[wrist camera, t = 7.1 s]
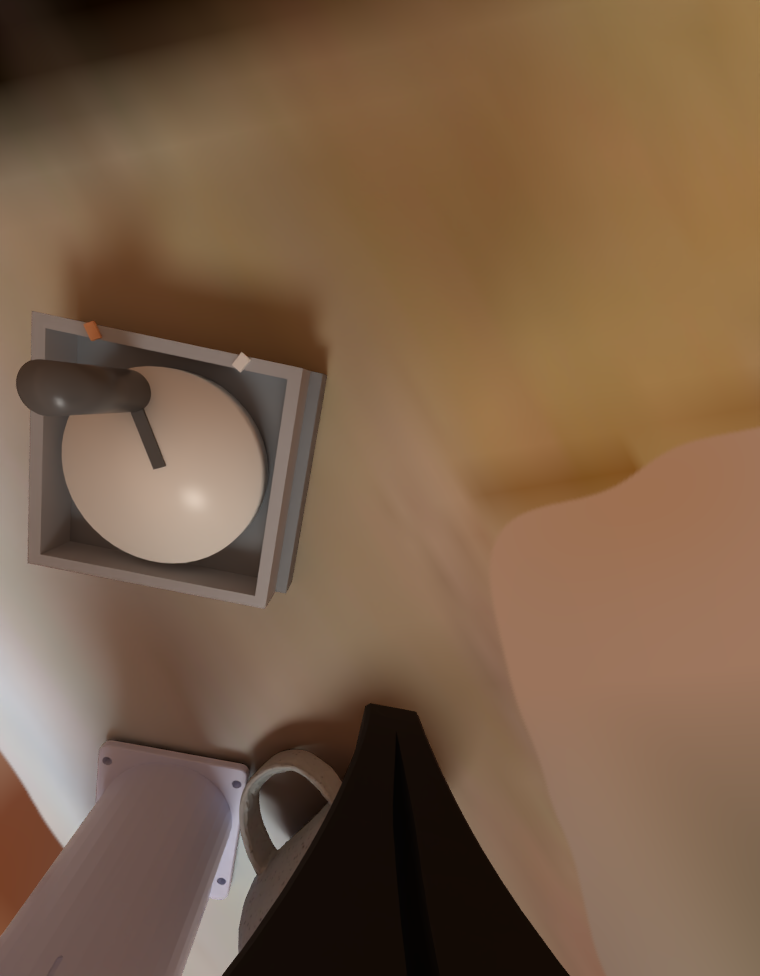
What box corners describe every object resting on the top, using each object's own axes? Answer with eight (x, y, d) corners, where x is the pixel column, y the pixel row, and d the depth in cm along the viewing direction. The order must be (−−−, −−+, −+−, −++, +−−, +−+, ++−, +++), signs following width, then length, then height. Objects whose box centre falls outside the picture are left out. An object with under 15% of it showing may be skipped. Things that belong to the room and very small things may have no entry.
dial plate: (291, 581, 20) (276, 612, 17) (67, 538, 20) (13, 561, 17) (327, 372, 18) (316, 367, 15) (75, 319, 17) (15, 304, 15)
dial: (292, 529, 18) (257, 579, 13) (125, 573, 18) (29, 637, 13) (230, 343, 16) (162, 319, 11) (48, 398, 17) (-93, 398, 12)
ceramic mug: (455, 808, 23) (487, 1009, 15) (367, 894, 24) (356, 1116, 17) (303, 705, 22) (256, 866, 14) (220, 801, 23) (137, 993, 16)
